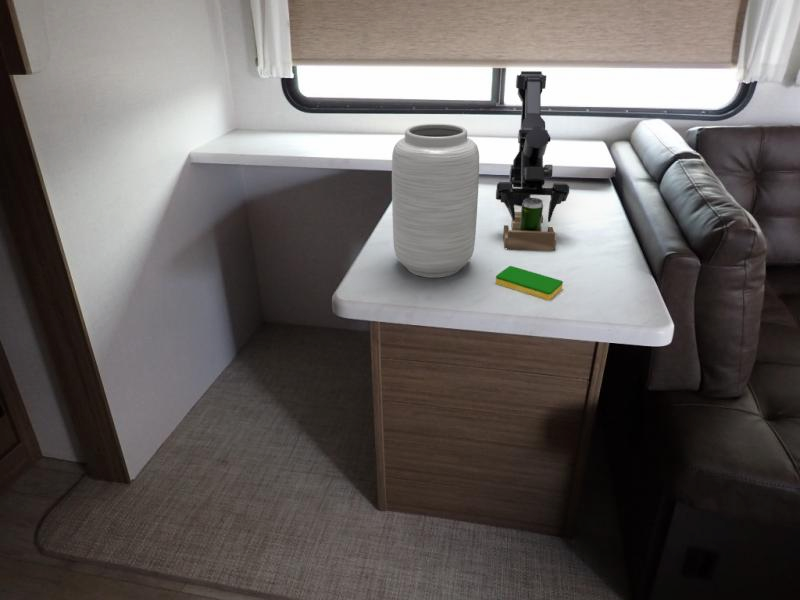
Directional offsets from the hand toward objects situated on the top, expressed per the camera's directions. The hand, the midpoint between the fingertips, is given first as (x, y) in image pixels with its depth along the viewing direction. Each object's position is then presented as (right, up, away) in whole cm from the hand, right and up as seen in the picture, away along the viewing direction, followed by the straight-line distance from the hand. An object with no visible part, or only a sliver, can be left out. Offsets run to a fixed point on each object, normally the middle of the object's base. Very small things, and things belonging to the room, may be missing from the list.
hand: (531, 221), depth 152 cm
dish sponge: (-5, -18, -17) cm, 25 cm away
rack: (0, -5, +4) cm, 7 cm away
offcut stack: (+1, -1, +13) cm, 13 cm away
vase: (-26, -12, -7) cm, 30 cm away
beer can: (0, -6, +5) cm, 7 cm away
